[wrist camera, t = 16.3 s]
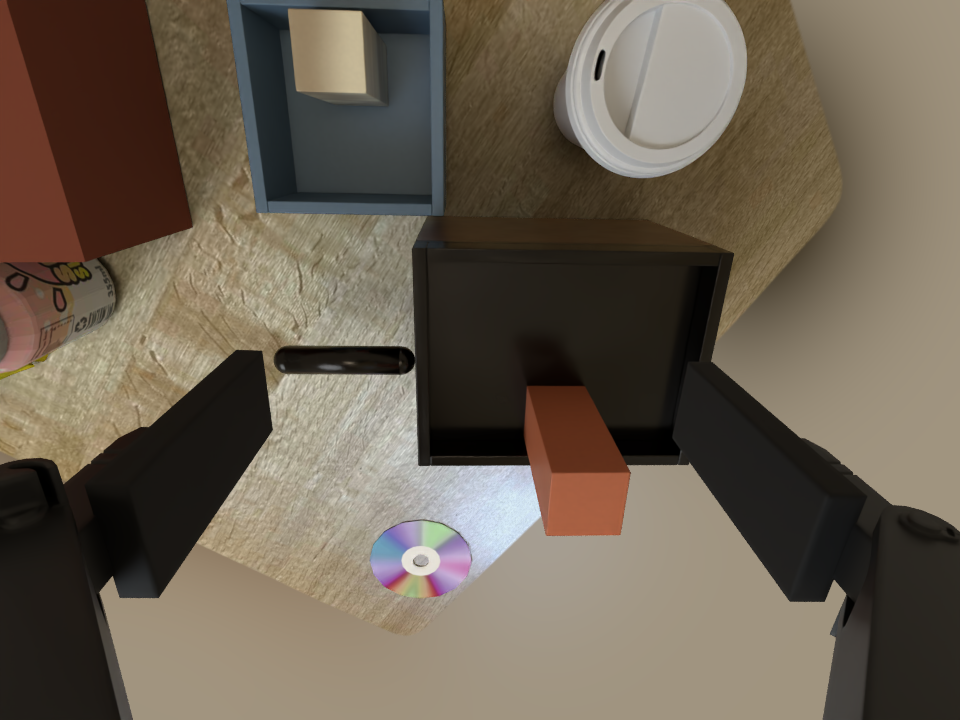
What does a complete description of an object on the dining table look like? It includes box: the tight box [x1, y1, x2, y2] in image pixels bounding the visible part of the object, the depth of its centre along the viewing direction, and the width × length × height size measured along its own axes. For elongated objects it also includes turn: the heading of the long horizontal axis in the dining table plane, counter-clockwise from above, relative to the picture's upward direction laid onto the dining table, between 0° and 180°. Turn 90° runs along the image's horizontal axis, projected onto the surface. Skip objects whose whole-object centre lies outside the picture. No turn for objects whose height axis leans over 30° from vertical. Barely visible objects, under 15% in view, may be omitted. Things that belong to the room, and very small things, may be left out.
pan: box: [274, 216, 734, 466], centre depth 38 cm, size 28×15×15 cm, turn 89°
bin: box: [226, 0, 446, 216], centre depth 35 cm, size 13×13×8 cm
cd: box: [370, 520, 471, 598], centre depth 56 cm, size 11×11×1 cm
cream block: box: [288, 8, 389, 106], centre depth 33 cm, size 4×4×10 cm
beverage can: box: [0, 258, 116, 373], centre depth 37 cm, size 9×8×12 cm
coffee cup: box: [553, 0, 747, 178], centre depth 32 cm, size 10×10×15 cm
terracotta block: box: [524, 386, 631, 536], centre depth 31 cm, size 4×4×10 cm
